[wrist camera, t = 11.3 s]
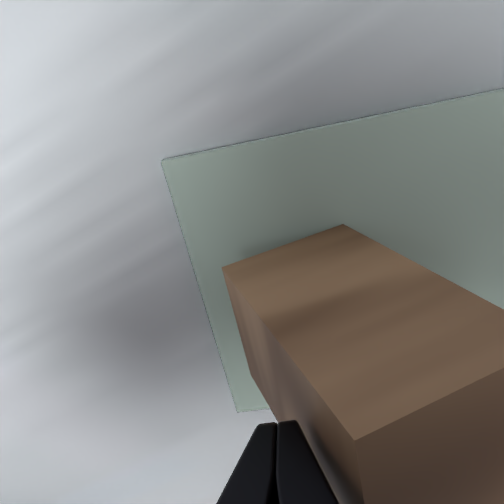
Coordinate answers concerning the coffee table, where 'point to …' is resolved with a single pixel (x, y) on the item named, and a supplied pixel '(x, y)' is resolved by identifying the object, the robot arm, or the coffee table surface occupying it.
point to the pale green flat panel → (349, 202)
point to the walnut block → (377, 368)
